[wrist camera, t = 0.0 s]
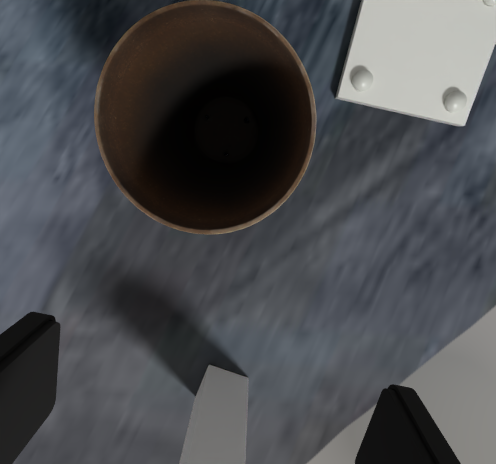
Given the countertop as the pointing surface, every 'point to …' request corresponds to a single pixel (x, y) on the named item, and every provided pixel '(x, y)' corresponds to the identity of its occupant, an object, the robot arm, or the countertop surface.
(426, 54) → the base plate
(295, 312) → the countertop surface
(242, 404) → the milk
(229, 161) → the plant pot
